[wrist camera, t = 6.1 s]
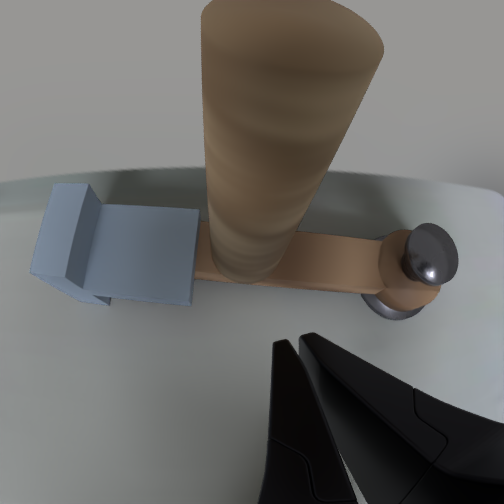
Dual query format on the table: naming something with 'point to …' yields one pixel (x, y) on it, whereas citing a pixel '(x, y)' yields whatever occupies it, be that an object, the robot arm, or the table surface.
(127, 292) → the bracket
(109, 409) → the table surface
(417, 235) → the pin stand
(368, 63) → the swing link
